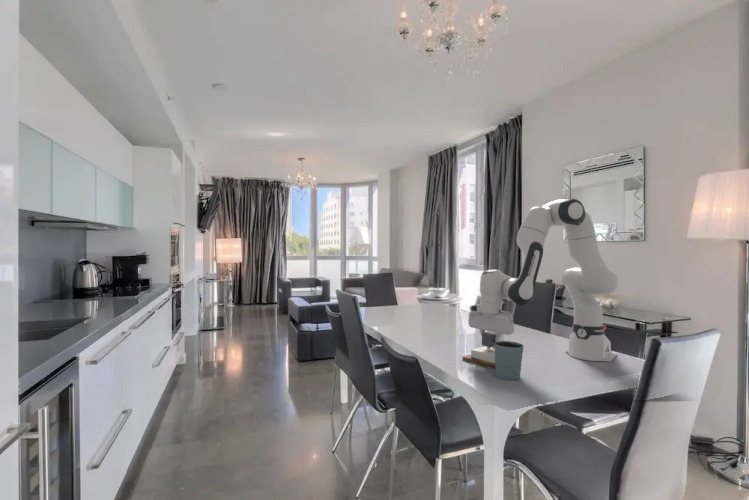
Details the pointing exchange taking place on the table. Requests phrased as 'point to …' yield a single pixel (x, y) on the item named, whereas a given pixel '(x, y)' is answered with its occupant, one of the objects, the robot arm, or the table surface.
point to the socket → (483, 354)
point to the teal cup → (508, 359)
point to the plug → (488, 339)
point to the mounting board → (479, 361)
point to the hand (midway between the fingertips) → (490, 341)
